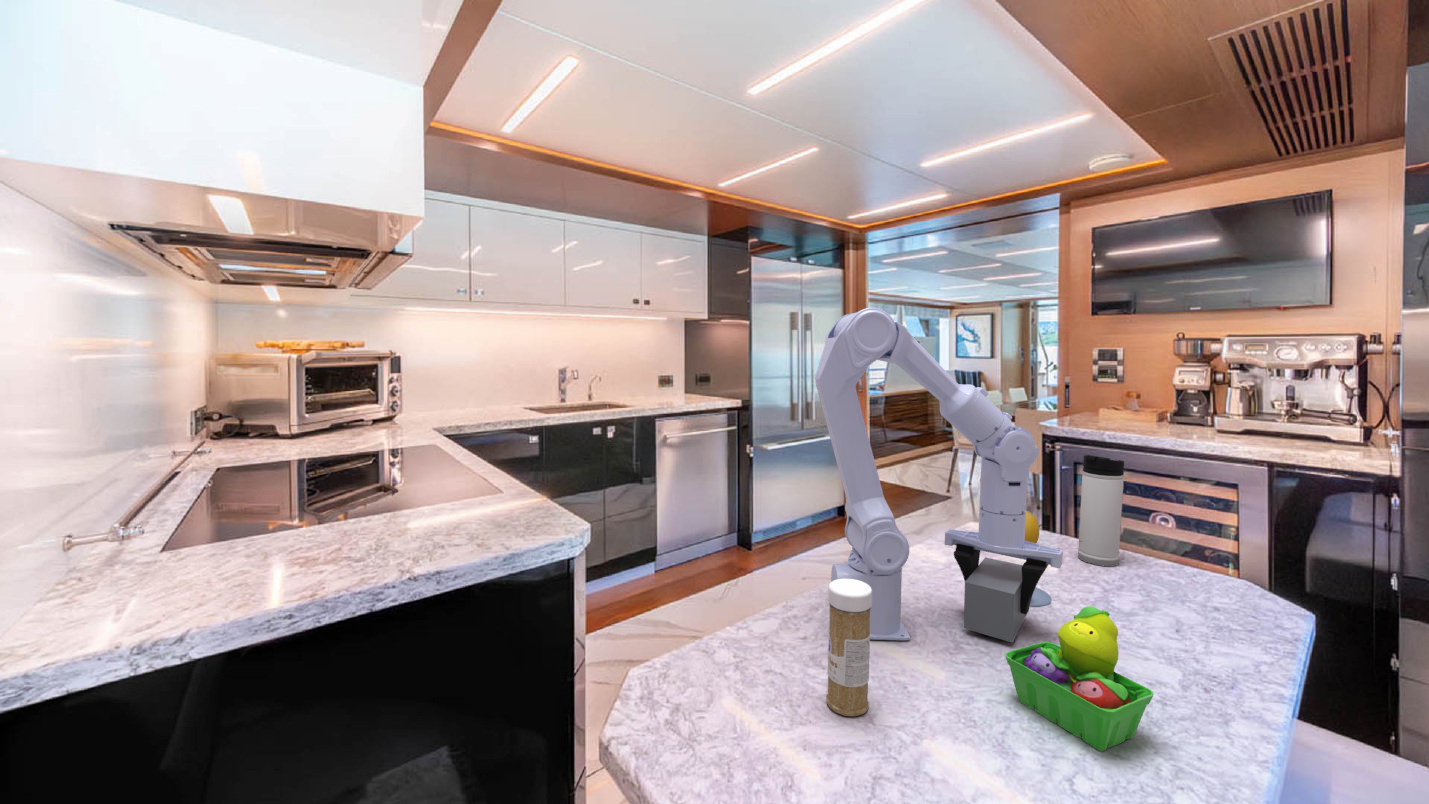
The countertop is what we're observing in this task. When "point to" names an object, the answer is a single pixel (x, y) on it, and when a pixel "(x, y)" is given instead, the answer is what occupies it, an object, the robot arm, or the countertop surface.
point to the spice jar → (849, 646)
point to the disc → (1040, 598)
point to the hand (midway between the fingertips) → (998, 604)
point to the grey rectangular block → (994, 599)
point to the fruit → (1031, 528)
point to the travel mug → (1101, 510)
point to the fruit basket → (1081, 681)
